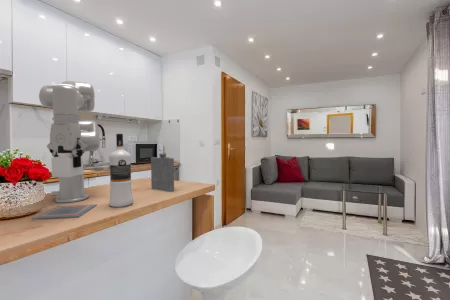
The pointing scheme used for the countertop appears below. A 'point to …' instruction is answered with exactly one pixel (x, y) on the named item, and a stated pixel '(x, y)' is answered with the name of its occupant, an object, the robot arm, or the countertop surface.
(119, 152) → the vodka
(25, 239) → the countertop surface
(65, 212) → the card
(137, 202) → the countertop surface
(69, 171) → the medicine bottle
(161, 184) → the hip flask
